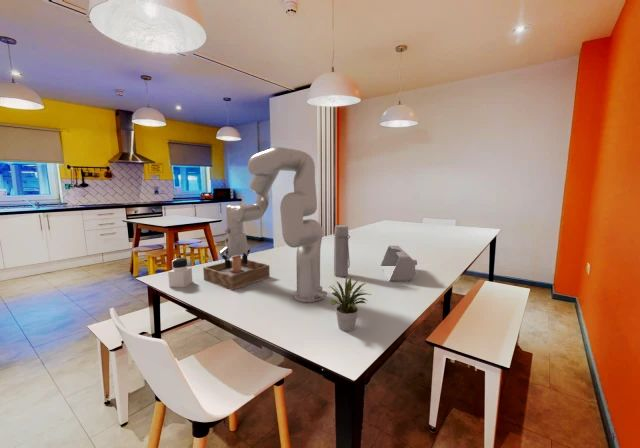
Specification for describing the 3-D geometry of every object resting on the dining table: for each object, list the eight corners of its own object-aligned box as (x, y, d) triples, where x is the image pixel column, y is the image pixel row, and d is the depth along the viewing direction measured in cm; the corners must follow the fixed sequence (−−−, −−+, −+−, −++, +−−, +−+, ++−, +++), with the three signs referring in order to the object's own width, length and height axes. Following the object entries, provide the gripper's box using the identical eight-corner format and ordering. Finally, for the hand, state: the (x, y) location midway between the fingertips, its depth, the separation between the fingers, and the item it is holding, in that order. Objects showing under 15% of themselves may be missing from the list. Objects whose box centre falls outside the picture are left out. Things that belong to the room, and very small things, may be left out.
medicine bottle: (192, 282, 132) (191, 257, 131) (184, 287, 125) (182, 261, 124) (178, 281, 133) (176, 256, 131) (168, 287, 126) (166, 260, 124)
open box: (269, 277, 140) (269, 265, 139) (231, 290, 122) (230, 276, 122) (241, 268, 153) (241, 258, 152) (204, 279, 136) (203, 267, 135)
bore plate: (257, 275, 139) (257, 270, 138) (233, 283, 128) (233, 277, 128) (240, 270, 147) (240, 265, 147) (216, 277, 136) (215, 272, 136)
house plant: (341, 346, 80) (342, 291, 77) (313, 326, 91) (313, 277, 89) (376, 331, 88) (378, 281, 86) (347, 315, 99) (347, 269, 97)
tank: (423, 282, 132) (425, 256, 131) (389, 282, 133) (390, 256, 131) (409, 267, 157) (410, 245, 155) (380, 266, 158) (380, 244, 156)
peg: (243, 276, 138) (242, 256, 137) (236, 278, 135) (235, 257, 133) (238, 274, 140) (237, 254, 139) (231, 276, 137) (230, 256, 136)
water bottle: (330, 275, 143) (330, 226, 139) (341, 271, 148) (341, 224, 145) (343, 279, 136) (344, 228, 133) (354, 276, 141) (355, 226, 138)
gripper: (223, 234, 125) (225, 271, 128) (254, 229, 139) (255, 263, 141) (214, 232, 130) (216, 268, 132) (245, 227, 144) (246, 260, 146)
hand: (236, 265), depth 137 cm, fingers open, 9 cm apart
